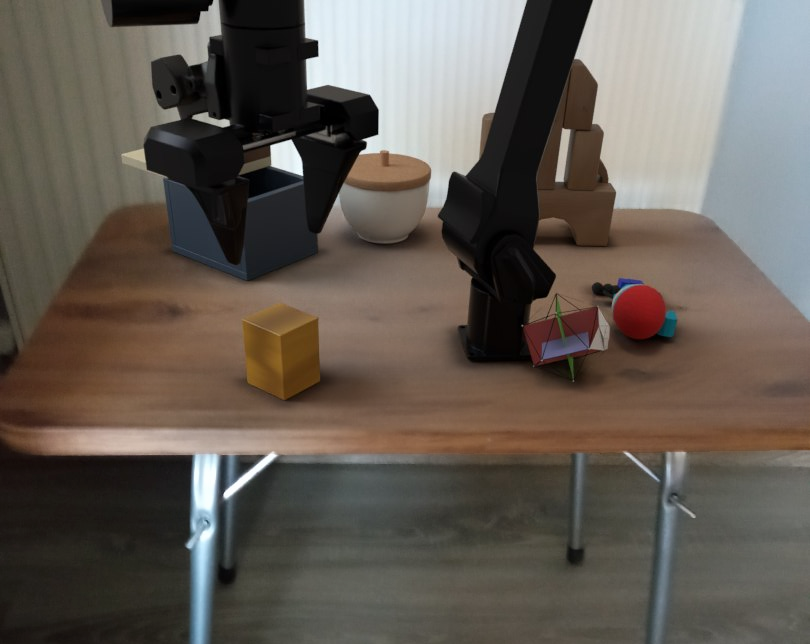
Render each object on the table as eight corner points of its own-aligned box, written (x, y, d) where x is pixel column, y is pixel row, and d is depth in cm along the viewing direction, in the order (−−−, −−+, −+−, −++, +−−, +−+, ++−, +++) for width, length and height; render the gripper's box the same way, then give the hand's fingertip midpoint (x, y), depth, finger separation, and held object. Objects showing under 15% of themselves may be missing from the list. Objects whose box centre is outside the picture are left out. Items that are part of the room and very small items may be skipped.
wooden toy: (596, 226, 111) (635, -8, 95) (607, 246, 106) (651, 2, 90) (472, 223, 110) (491, -13, 94) (477, 243, 105) (498, -3, 89)
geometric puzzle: (502, 360, 78) (568, 296, 74) (506, 325, 83) (568, 263, 79) (561, 409, 80) (629, 350, 76) (561, 372, 86) (625, 315, 81)
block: (320, 381, 78) (318, 317, 75) (284, 400, 76) (280, 335, 72) (283, 364, 81) (280, 302, 77) (247, 383, 78) (241, 318, 74)
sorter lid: (271, 165, 99) (269, 122, 97) (195, 188, 93) (190, 142, 90) (198, 143, 105) (194, 101, 102) (122, 163, 98) (115, 119, 95)
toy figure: (582, 303, 97) (602, 344, 84) (593, 256, 94) (615, 291, 81) (651, 312, 97) (682, 355, 84) (663, 266, 94) (697, 302, 81)
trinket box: (427, 253, 102) (432, 168, 96) (334, 249, 102) (332, 163, 96) (427, 220, 111) (432, 140, 105) (341, 216, 110) (340, 136, 105)
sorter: (318, 252, 101) (316, 179, 96) (247, 281, 95) (241, 204, 90) (244, 225, 107) (238, 155, 102) (172, 251, 100) (162, 177, 95)
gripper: (275, -7, 70) (285, 195, 80) (73, 21, 59) (114, 253, 69) (385, 13, 65) (381, 226, 75) (187, 47, 54) (213, 294, 63)
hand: (275, 247), depth 71 cm, fingers open, 9 cm apart
